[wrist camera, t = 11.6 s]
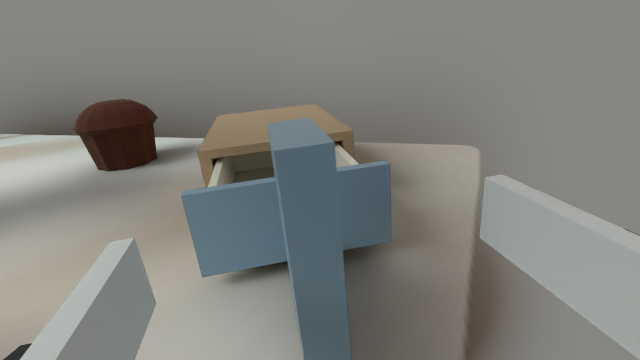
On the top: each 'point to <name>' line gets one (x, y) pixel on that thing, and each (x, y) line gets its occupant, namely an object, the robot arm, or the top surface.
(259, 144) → the drawer cabinet
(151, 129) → the muffin
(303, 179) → the blue-handled drawer
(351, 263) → the top surface
